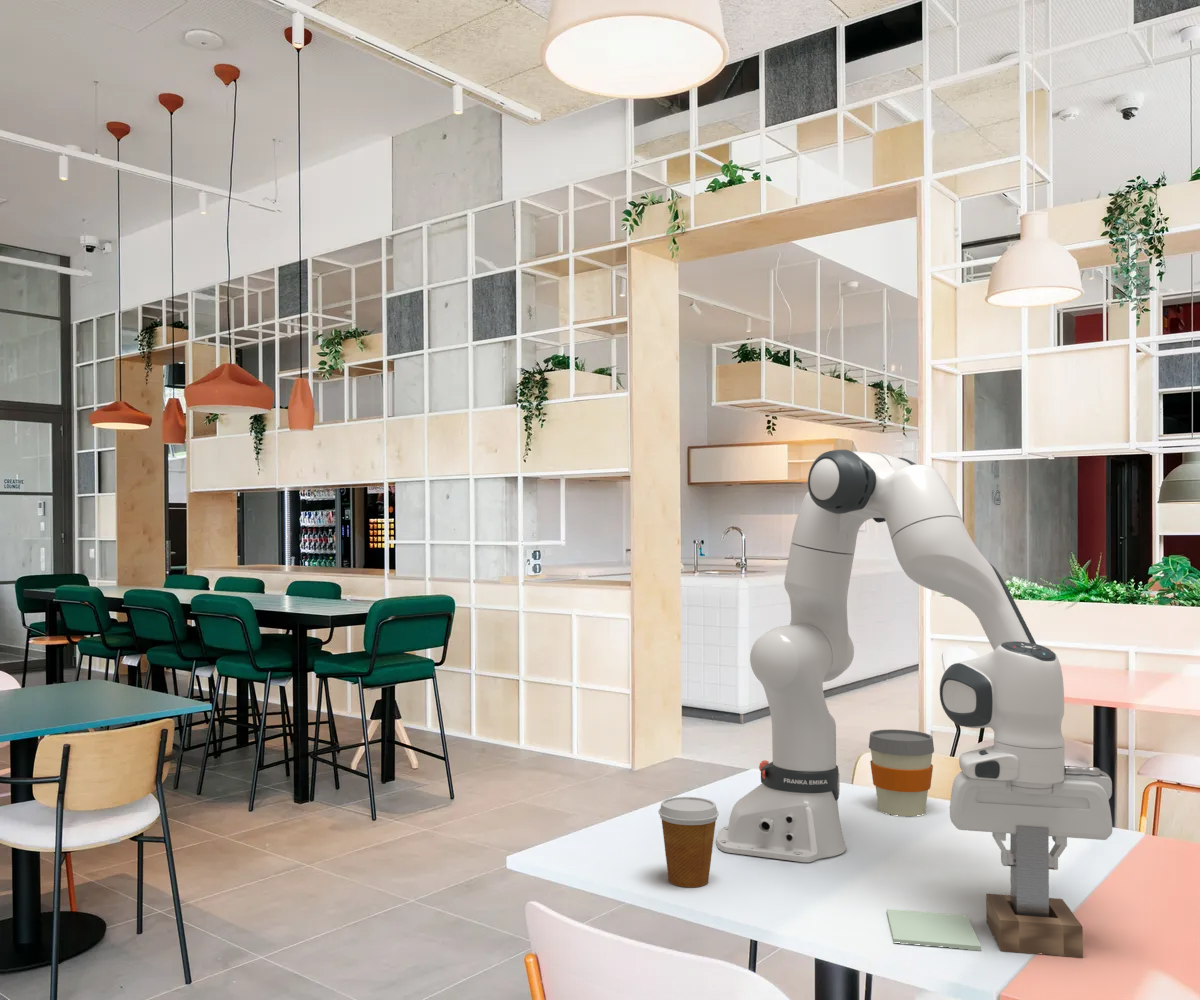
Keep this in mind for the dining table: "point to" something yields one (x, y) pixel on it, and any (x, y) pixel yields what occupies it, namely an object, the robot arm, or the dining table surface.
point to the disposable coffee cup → (688, 839)
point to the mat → (933, 929)
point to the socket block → (1034, 928)
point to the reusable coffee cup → (901, 770)
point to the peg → (1030, 871)
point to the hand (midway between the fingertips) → (1029, 866)
